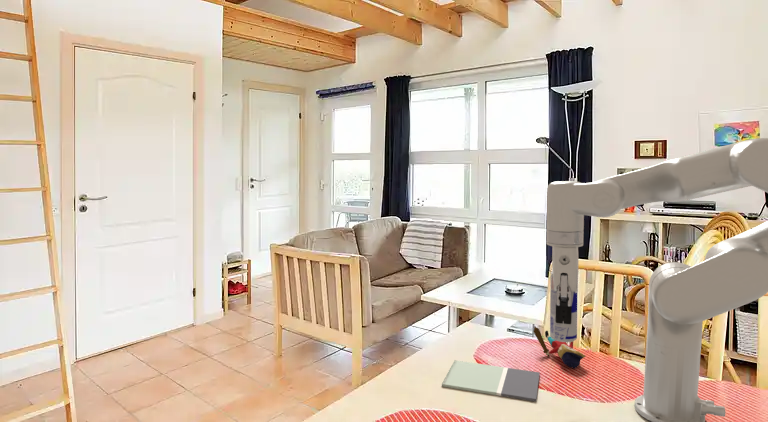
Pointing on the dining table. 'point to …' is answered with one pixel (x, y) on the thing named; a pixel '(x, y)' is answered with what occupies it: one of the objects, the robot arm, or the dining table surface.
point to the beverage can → (563, 330)
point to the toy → (560, 350)
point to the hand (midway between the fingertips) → (563, 318)
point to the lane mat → (493, 380)
